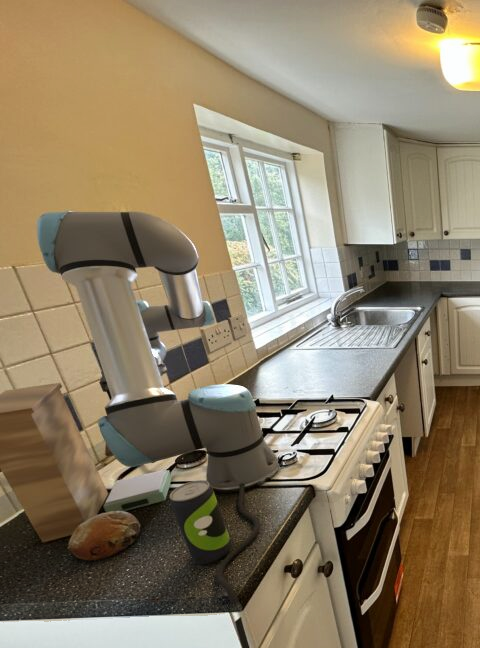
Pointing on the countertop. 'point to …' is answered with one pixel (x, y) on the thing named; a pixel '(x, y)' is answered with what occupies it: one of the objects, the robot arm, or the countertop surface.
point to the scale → (138, 491)
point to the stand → (48, 461)
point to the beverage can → (200, 521)
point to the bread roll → (104, 535)
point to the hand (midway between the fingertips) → (119, 394)
